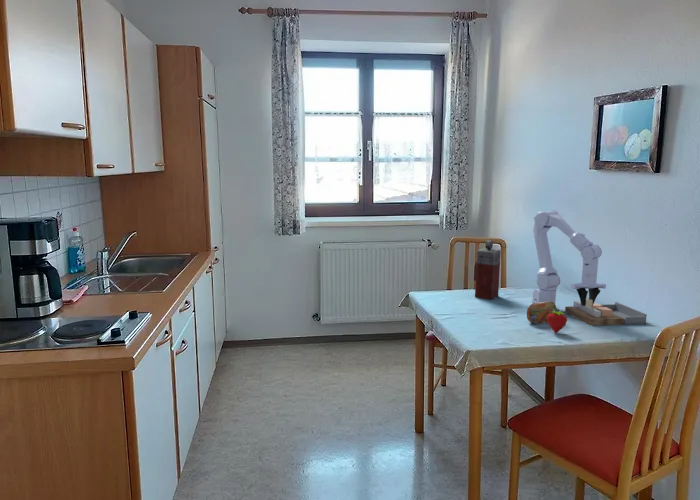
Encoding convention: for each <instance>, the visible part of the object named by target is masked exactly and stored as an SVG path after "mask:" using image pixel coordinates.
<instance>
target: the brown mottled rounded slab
mask: <svg viewBox="0 0 700 500" xmlns="http://www.w3.org/2000/svg"><path fill="white" fill-rule="evenodd" d="M557 308H558V307H557V305H556V303H555V304H554V303H553V302H548V301H545V302H540V303H534V304H532V303H531V304H530V305H529V306H528V307H527V309H526V319H527V321H528V322H529V323H530V324H535V325H539V324H545V323H548V321H547V315H548V314H550V313H553V312H550V311H556V312H558V310H557Z"/></svg>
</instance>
